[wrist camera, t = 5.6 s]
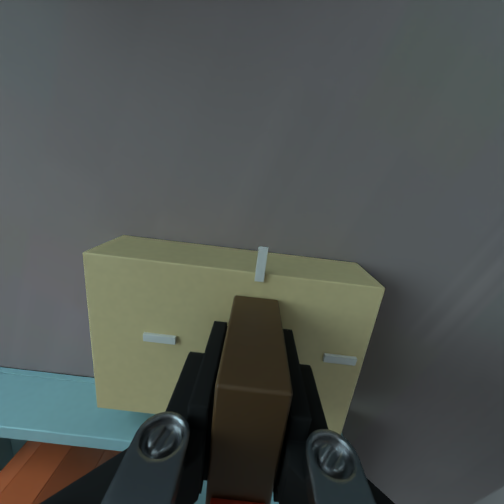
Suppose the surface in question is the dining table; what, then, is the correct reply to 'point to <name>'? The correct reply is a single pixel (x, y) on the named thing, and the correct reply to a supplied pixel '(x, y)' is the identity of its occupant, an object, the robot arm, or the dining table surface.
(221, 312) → the switch panel
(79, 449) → the cup
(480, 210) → the dining table surface
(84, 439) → the blue tray
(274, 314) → the brown switch lever
